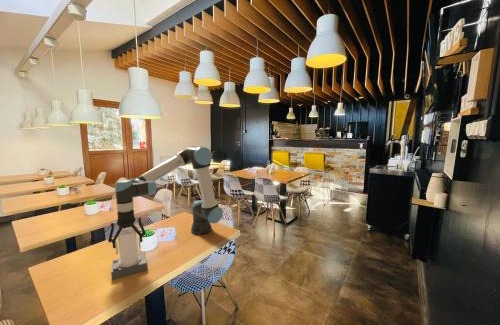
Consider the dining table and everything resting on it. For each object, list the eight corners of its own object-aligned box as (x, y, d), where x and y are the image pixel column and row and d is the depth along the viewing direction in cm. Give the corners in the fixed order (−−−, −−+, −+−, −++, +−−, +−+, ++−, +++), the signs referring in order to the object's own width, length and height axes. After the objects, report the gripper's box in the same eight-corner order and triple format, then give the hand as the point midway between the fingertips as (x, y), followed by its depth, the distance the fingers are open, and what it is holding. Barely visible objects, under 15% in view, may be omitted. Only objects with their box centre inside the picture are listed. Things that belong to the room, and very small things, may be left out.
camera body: (145, 259, 126) (145, 250, 125) (147, 269, 115) (146, 260, 115) (113, 267, 118) (112, 258, 117) (111, 279, 107) (111, 270, 107)
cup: (130, 265, 111) (127, 235, 110) (116, 264, 113) (114, 234, 111) (141, 257, 119) (139, 229, 118) (128, 255, 121) (126, 228, 119)
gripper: (148, 204, 122) (151, 242, 124) (100, 211, 111) (103, 253, 113) (149, 208, 115) (152, 248, 118) (98, 216, 104) (102, 260, 107)
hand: (128, 250), depth 116 cm, fingers open, 10 cm apart
